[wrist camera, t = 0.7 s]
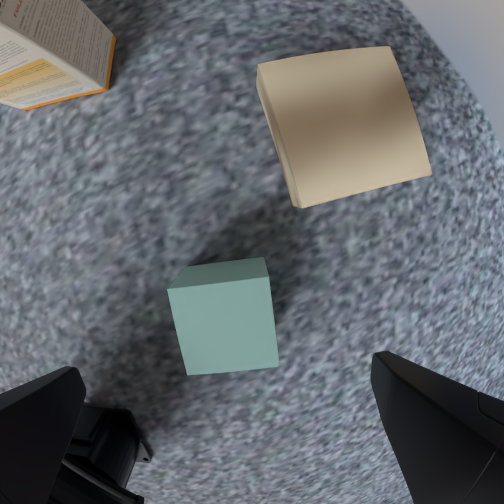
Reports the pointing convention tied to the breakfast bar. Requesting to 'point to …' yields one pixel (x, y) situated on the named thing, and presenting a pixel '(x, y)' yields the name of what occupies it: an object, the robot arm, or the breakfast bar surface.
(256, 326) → the teal cube
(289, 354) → the breakfast bar surface
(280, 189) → the breakfast bar surface
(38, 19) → the supplement box
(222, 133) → the breakfast bar surface
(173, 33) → the breakfast bar surface
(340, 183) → the beech block
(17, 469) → the robot arm
